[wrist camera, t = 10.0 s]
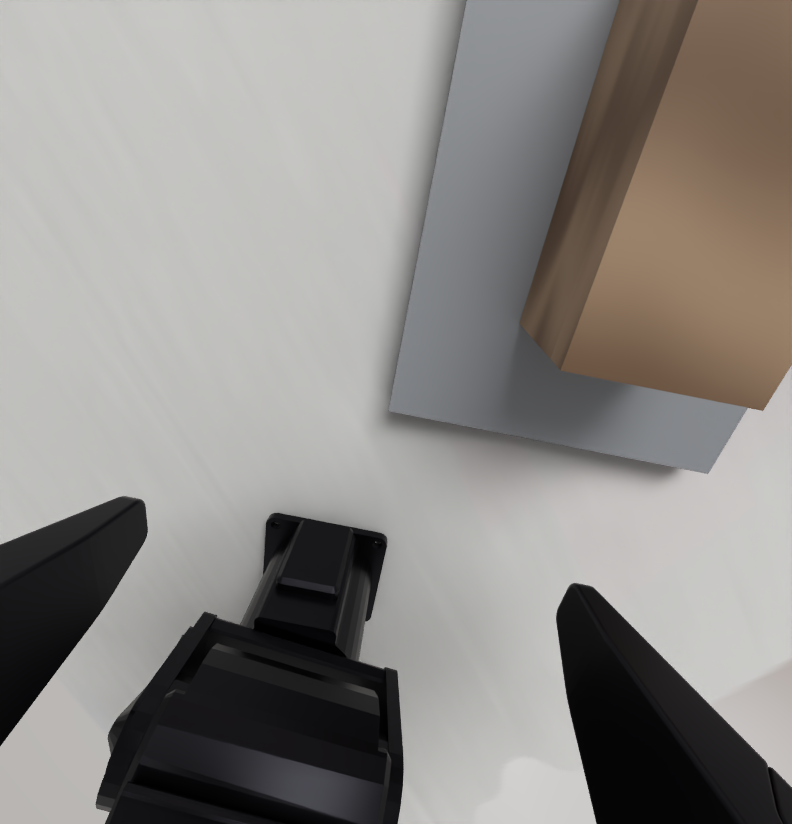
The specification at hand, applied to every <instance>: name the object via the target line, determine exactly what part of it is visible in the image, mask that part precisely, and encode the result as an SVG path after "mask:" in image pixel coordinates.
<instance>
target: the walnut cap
mask: <svg viewBox="0 0 792 824" xmlns="http://www.w3.org/2000/svg"><path fill="white" fill-rule="evenodd" d="M519 324H520V325H521V326H522V327H523V328H524V330H525V331H526V332H527V333H528V334H529V335H530V336H531V338H532V339H533V340H534V341H535V342H536V343H537V344H538V346H539V347H540V348H541V349H542V350H543V351H544V352H545V353H546V355H547V356H548V357H549V358H550V359H551V360H552V361H553V363H554V364H555V365H556V366H557V367H558V368H559V369H560V371H565V372H570V373H575V374H580V375H585V376H590V377H595V378H600V379H605V380H610V381H615V382H620V383H625V384H630V385H636V386H641V387H646V388H651V389H656V390H661V391H666V392H671V393H676V394H681V395H686V396H691V397H696V398H701V399H706V400H711V401H716V402H721V403H727V404H732V405H737V406H742V407H747V408H752V409H757V410H762V411H763V410H764V408H765V407H766V405H767V403H768V402H769V400H770V399H771V397H772V395H773V394H774V392H775V391H776V389H777V387H778V386H779V384H780V383H781V381H782V379H783V378H784V376H785V374H786V373H787V371H788V370H789V368H790V366H791V365H792V0H619V4H618V7H617V10H616V13H615V17H614V20H613V23H612V26H611V29H610V33H609V36H608V39H607V42H606V46H605V49H604V52H603V55H602V58H601V62H600V65H599V68H598V71H597V75H596V78H595V81H594V84H593V87H592V91H591V94H590V97H589V100H588V104H587V107H586V110H585V113H584V116H583V120H582V123H581V126H580V129H579V133H578V136H577V139H576V142H575V145H574V149H573V152H572V155H571V158H570V162H569V165H568V168H567V171H566V174H565V178H564V181H563V184H562V187H561V191H560V194H559V197H558V200H557V203H556V207H555V210H554V213H553V216H552V220H551V223H550V226H549V229H548V232H547V236H546V239H545V242H544V245H543V249H542V252H541V255H540V258H539V261H538V265H537V268H536V271H535V274H534V278H533V281H532V284H531V287H530V290H529V294H528V297H527V300H526V303H525V307H524V310H523V313H522V316H521V319H520V323H519Z"/></svg>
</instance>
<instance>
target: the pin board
mask: <svg viewBox="0 0 792 824" xmlns="http://www.w3.org/2000/svg"><path fill="white" fill-rule="evenodd" d="M618 4H619V0H467V1H466V7H465V12H464V17H463V22H462V27H461V33H460V38H459V43H458V48H457V54H456V59H455V64H454V69H453V75H452V80H451V85H450V90H449V96H448V101H447V106H446V111H445V117H444V122H443V127H442V132H441V138H440V143H439V148H438V153H437V159H436V164H435V169H434V174H433V180H432V185H431V190H430V195H429V200H428V206H427V211H426V216H425V221H424V227H423V232H422V237H421V242H420V248H419V253H418V258H417V263H416V269H415V274H414V279H413V284H412V290H411V295H410V300H409V305H408V311H407V316H406V321H405V326H404V332H403V337H402V342H401V347H400V353H399V358H398V363H397V368H396V373H395V379H394V384H393V389H392V394H391V400H390V405H389V410H388V411H390V412H395V413H400V414H405V415H410V416H415V417H421V418H426V419H431V420H436V421H441V422H446V423H451V424H456V425H461V426H466V427H472V428H477V429H482V430H487V431H492V432H497V433H502V434H507V435H512V436H518V437H523V438H528V439H533V440H538V441H543V442H548V443H553V444H558V445H563V446H569V447H574V448H579V449H584V450H589V451H594V452H599V453H604V454H609V455H614V456H620V457H625V458H630V459H635V460H640V461H645V462H650V463H655V464H660V465H665V466H671V467H676V468H681V469H686V470H691V471H696V472H701V473H706V474H708V473H709V472H710V470H711V468H712V467H713V465H714V463H715V462H716V460H717V458H718V457H719V455H720V453H721V452H722V450H723V448H724V447H725V445H726V443H727V442H728V440H729V438H730V437H731V435H732V433H733V432H734V430H735V428H736V427H737V425H738V423H739V422H740V420H741V418H742V417H743V415H744V413H745V412H746V410H747V407H742V406H737V405H732V404H727V403H721V402H716V401H711V400H706V399H701V398H696V397H691V396H686V395H681V394H676V393H671V392H666V391H661V390H656V389H651V388H646V387H641V386H636V385H630V384H625V383H620V382H615V381H610V380H605V379H600V378H595V377H590V376H585V375H580V374H575V373H570V372H565V371H560V369H559V368H558V367H557V366H556V365H555V364H554V363H553V361H552V360H551V359H550V358H549V357H548V356H547V355H546V353H545V352H544V351H543V350H542V349H541V348H540V347H539V346H538V344H537V343H536V342H535V341H534V340H533V339H532V338H531V336H530V335H529V334H528V333H527V332H526V331H525V330H524V328H523V327H522V326H521V325H520V324H519V323H520V319H521V316H522V313H523V310H524V307H525V303H526V300H527V297H528V294H529V290H530V287H531V284H532V281H533V278H534V274H535V271H536V268H537V265H538V261H539V258H540V255H541V252H542V249H543V245H544V242H545V239H546V236H547V232H548V229H549V226H550V223H551V220H552V216H553V213H554V210H555V207H556V203H557V200H558V197H559V194H560V191H561V187H562V184H563V181H564V178H565V174H566V171H567V168H568V165H569V162H570V158H571V155H572V152H573V149H574V145H575V142H576V139H577V136H578V133H579V129H580V126H581V123H582V120H583V116H584V113H585V110H586V107H587V104H588V100H589V97H590V94H591V91H592V87H593V84H594V81H595V78H596V75H597V71H598V68H599V65H600V62H601V58H602V55H603V52H604V49H605V46H606V42H607V39H608V36H609V33H610V29H611V26H612V23H613V20H614V17H615V13H616V10H617V7H618Z"/></svg>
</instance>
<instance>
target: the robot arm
mask: <svg viewBox="0 0 792 824" xmlns="http://www.w3.org/2000/svg"><path fill="white" fill-rule="evenodd" d="M275 522H278V523H279V524H276V523H275ZM147 532H148V527H147V517H146V507H145V503H144V501H143V500H141V499H137V498H132V497H127V496H122V497H118V498H116V499H113V500H111V501H108V502H106V503H103V504H101V505H98V506H96V507H93V508H91V509H88V510H86V511H83V512H81V513H78V514H76V515H73V516H71V517H68V518H66V519H63V520H61V521H58V522H56V523H53V524H51V525H48V526H46V527H43V528H41V529H38V530H36V531H33V532H31V533H28V534H26V535H23V536H21V537H18V538H16V539H13V540H11V541H8V542H6V543H3V544H1V545H0V746H1V745H2V743H3V742H4V741H5V739H6V738H7V737H8V735H9V734H10V732H11V731H12V730H13V728H14V727H15V726H16V725H17V723H18V722H19V721H20V719H21V718H22V717H23V715H24V714H25V713H26V711H27V710H28V709H29V707H30V706H31V705H32V703H33V702H34V701H35V699H36V698H37V697H38V695H39V694H40V693H41V691H42V690H43V689H44V687H45V686H46V685H47V683H48V682H49V681H50V679H51V678H52V677H53V675H54V674H55V673H56V671H57V670H58V669H59V667H60V666H61V665H62V663H63V662H64V661H65V659H66V658H67V657H68V655H69V654H70V653H71V651H72V650H73V649H74V647H75V646H76V645H77V643H78V642H79V641H80V639H81V638H82V637H83V635H84V634H85V633H86V631H87V630H88V629H89V628H90V626H91V625H92V624H93V622H94V621H95V619H96V618H97V617H98V615H99V614H100V612H101V611H102V610H103V608H104V607H105V605H106V603H107V602H108V600H109V599H110V597H111V596H112V594H113V592H114V591H115V589H116V587H117V586H118V584H119V583H120V581H121V579H122V578H123V576H124V574H125V573H126V571H127V569H128V568H129V566H130V565H131V563H132V561H133V560H134V558H135V556H136V555H137V553H138V551H139V550H140V548H141V547H142V545H143V543H144V541H145V539H146V537H147ZM375 541H378V542H381V543H375ZM386 547H387V537H386V536H385V535H384V534H382V533H378V532H373V531H368V530H363V529H358V528H353V527H347V526H342V525H337V524H332V523H327V522H322V521H316V520H311V519H306V518H301V517H296V516H291V515H285V514H280V513H274V514H271V515H270V516H269V518H268V520H267V523H266V536H265V553H264V570H263V577H262V579H261V582H260V584H259V586H258V588H257V590H256V592H255V594H254V596H253V598H252V601H251V603H250V605H249V607H248V609H247V611H246V613H245V615H244V618H243V620H242V622H241V624H240V625H239V624H235V623H232V622H229V621H225V620H222V619H219V618H217V615H214V614H211V613H208V612H204V613H203V614H202V616H201V617H200V619H199V620H198V621H197V623H196V624H195V626H194V627H190V628H189V629H188V630H187V632H186V633H185V634H184V635H182V637H181V639H180V640H179V642H178V644H177V645H176V647H175V648H174V650H173V651H172V652H171V654H170V655H169V656H168V658H167V659H166V661H165V662H164V663H163V665H162V666H161V668H160V669H159V670H158V672H157V673H156V674H155V676H154V677H153V679H152V680H151V681H150V683H149V684H148V685H147V687H146V688H145V689H144V690H143V691H142V692H141V693H140V694H139V695H138V696H137V697H136V698H135V700H134V701H133V702H132V703H131V704H130V705H129V706H128V707H127V708H126V709H125V710H124V711H123V712H122V713H121V714H120V715H119V717H118V718H117V719H116V721H115V722H114V724H113V726H112V728H111V730H110V732H109V734H108V742H109V747H110V752H111V757H110V759H109V762H108V765H107V768H106V773H105V775H104V778H103V780H102V783H101V787H100V789H99V792H98V796H97V801H96V808H97V809H101V810H104V811H108V812H110V813H109V816H108V818H107V820H106V823H105V824H398V818H399V812H400V806H401V797H402V788H403V770H404V769H403V746H402V731H401V717H400V703H399V688H398V674H397V671H396V670H393V669H390V668H387V667H385V668H384V669H382V668H379V667H376V666H372V665H369V664H366V663H362V662H359V655H360V649H361V643H362V637H363V630H364V624H365V621H368V620H369V619H370V618H371V614H372V610H373V605H374V601H375V596H376V592H377V588H378V583H379V579H380V574H381V570H382V565H383V561H384V556H385V552H386ZM556 622H557V630H558V637H559V644H560V652H561V659H562V666H563V674H564V681H565V688H566V694H567V700H568V704H569V709H570V714H571V718H572V722H573V726H574V731H575V735H576V739H577V743H578V747H579V752H580V756H581V760H582V764H583V768H584V773H585V776H586V781H587V785H588V789H589V794H590V798H591V802H592V806H593V810H594V815H595V819H596V823H597V824H792V787H791V786H790V785H789V784H788V783H787V782H786V781H785V780H784V779H783V778H782V777H781V776H780V775H779V774H778V773H777V772H776V771H775V770H774V769H773V768H771V767H768V765H767V763H766V761H765V760H764V759H763V758H762V757H761V756H760V755H759V754H758V753H757V752H756V751H755V750H754V749H753V748H752V747H751V746H750V745H749V744H748V743H747V742H746V741H745V740H744V739H743V738H742V737H741V736H740V735H739V734H738V733H737V732H736V731H735V730H734V729H733V728H732V727H731V726H730V725H729V724H728V723H727V722H726V721H725V720H724V719H723V718H722V717H721V716H720V715H719V714H718V713H717V712H716V711H715V710H714V709H713V708H712V707H711V706H710V705H709V704H708V703H707V702H706V701H705V700H704V699H703V698H702V697H701V696H700V695H699V693H698V692H697V691H696V690H695V689H694V688H693V687H692V686H691V685H690V684H689V683H688V682H687V681H686V680H685V679H684V678H683V677H682V676H681V675H680V674H679V673H678V672H677V671H676V670H675V669H674V668H673V667H672V666H671V665H670V664H669V663H668V662H667V661H666V660H665V659H664V658H663V657H662V656H661V655H660V654H659V653H658V652H657V651H656V650H655V649H654V648H653V647H652V646H651V645H650V644H649V643H648V642H647V641H646V640H645V639H644V638H643V637H642V636H641V635H640V634H639V633H638V632H637V631H636V630H635V629H634V628H633V627H632V626H631V625H630V624H629V623H628V622H627V621H626V620H625V619H624V618H623V617H622V616H621V615H620V614H619V613H618V612H617V611H616V610H615V609H614V608H613V607H612V606H611V605H610V604H609V603H608V602H607V601H606V600H605V599H604V597H603V596H602V595H601V594H600V593H599V592H598V591H597V590H595V589H594V588H593V587H591V586H588V585H583V584H577V583H573V584H571V585H570V586H569V587H568V589H567V591H566V593H565V595H564V597H563V599H562V601H561V603H560V605H559V607H558V610H557V615H556Z"/></svg>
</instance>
